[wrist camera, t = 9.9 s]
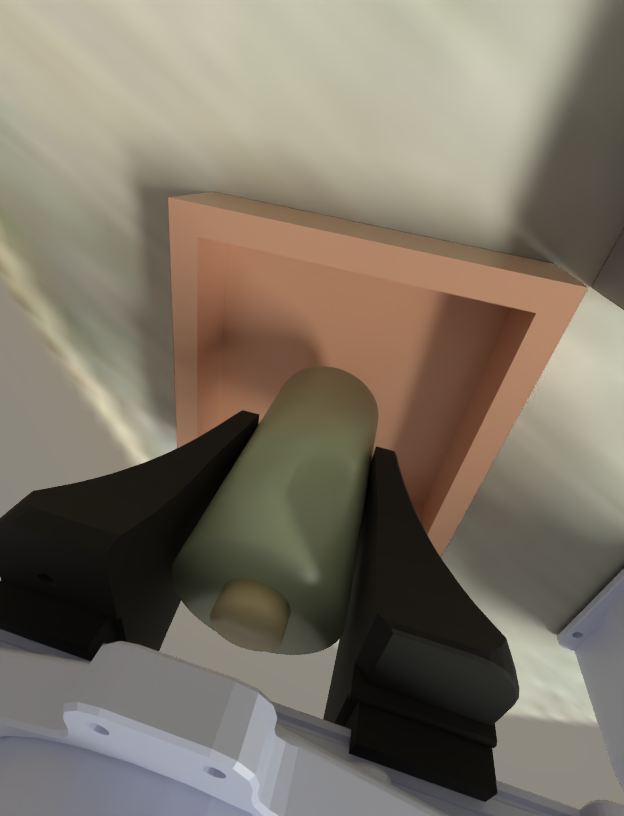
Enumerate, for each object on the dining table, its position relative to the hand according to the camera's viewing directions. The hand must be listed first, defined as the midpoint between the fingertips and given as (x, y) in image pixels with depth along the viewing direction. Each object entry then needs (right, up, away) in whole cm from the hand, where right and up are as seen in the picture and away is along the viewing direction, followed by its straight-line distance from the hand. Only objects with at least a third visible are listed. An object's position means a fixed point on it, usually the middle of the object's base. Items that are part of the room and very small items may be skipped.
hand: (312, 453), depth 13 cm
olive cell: (+1, +1, +2) cm, 2 cm away
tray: (+1, +3, +5) cm, 6 cm away
